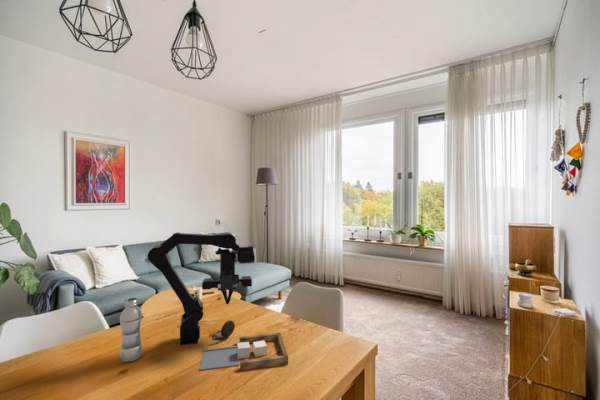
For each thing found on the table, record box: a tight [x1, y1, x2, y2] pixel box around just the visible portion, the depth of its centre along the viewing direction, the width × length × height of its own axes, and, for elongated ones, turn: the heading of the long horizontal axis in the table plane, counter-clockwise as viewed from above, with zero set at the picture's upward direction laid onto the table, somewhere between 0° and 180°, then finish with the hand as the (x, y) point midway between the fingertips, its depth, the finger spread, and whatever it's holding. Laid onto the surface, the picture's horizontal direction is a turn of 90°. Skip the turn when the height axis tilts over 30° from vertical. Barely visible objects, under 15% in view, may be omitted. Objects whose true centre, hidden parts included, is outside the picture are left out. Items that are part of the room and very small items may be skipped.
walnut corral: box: [238, 332, 289, 371], centre depth 99 cm, size 15×17×2 cm
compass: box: [209, 320, 236, 341], centre depth 110 cm, size 8×8×7 cm
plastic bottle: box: [119, 297, 144, 363], centre depth 95 cm, size 6×7×20 cm
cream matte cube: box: [236, 342, 251, 360], centre depth 98 cm, size 4×4×4 cm
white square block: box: [252, 340, 268, 358], centre depth 99 cm, size 4×4×4 cm
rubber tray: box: [199, 345, 240, 371], centre depth 96 cm, size 12×12×1 cm
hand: (227, 304), depth 113 cm, fingers closed
